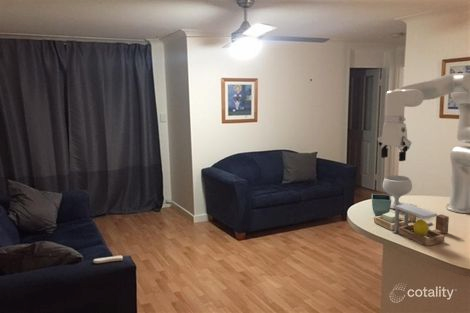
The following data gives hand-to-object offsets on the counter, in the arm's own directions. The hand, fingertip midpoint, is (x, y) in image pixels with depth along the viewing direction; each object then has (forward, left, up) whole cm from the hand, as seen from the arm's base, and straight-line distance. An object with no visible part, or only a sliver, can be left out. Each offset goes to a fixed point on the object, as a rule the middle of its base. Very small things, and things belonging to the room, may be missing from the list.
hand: (393, 159), depth 165 cm
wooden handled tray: (-5, +15, -31) cm, 35 cm away
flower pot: (-7, -14, -31) cm, 34 cm away
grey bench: (-6, +14, -31) cm, 34 cm away
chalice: (-22, -19, -31) cm, 43 cm away
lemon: (-1, +15, -31) cm, 35 cm away
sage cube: (-1, -1, -31) cm, 31 cm away
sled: (-5, -1, -30) cm, 31 cm away
